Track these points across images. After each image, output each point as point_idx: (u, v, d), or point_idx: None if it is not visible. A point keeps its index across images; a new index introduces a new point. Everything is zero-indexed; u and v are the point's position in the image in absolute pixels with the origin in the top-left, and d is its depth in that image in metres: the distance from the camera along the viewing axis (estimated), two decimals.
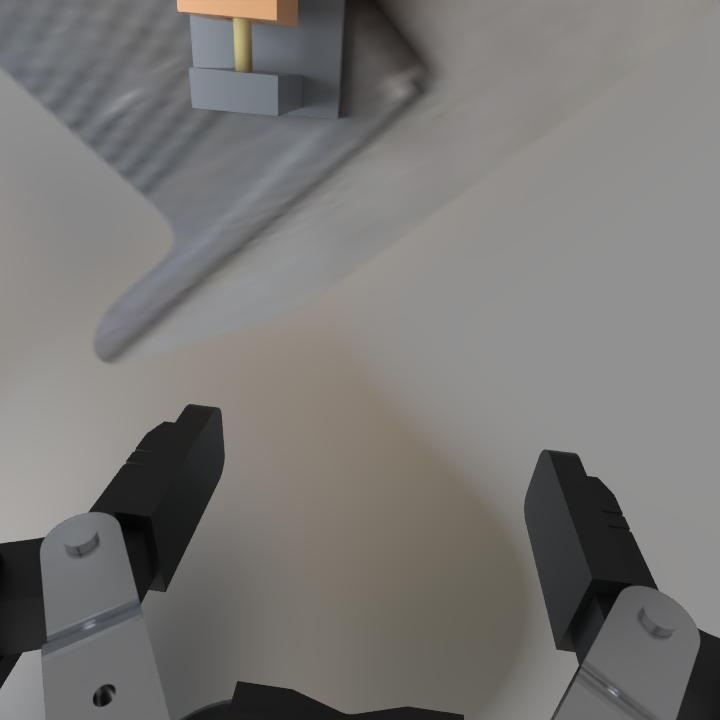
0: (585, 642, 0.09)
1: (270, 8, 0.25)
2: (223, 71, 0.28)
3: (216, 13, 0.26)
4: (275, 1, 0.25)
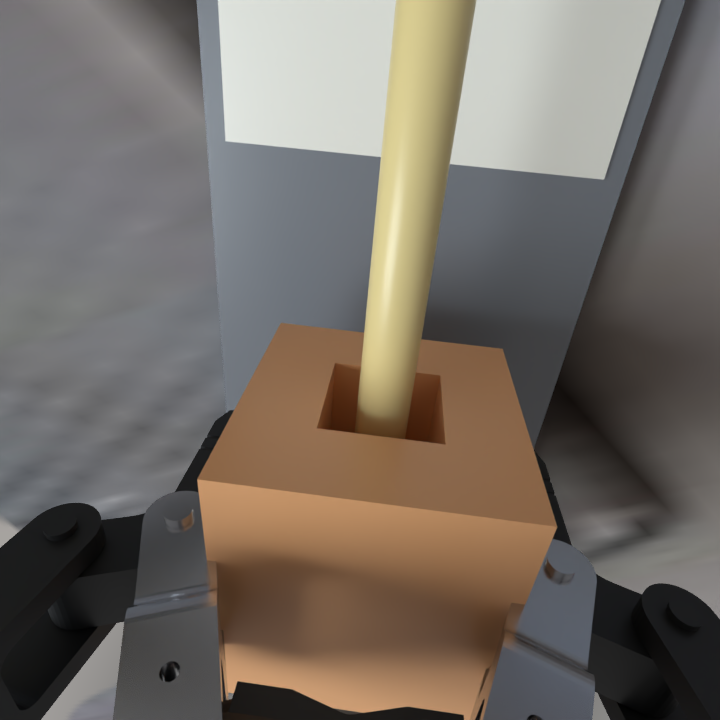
0: None
1: None
2: None
3: None
4: None
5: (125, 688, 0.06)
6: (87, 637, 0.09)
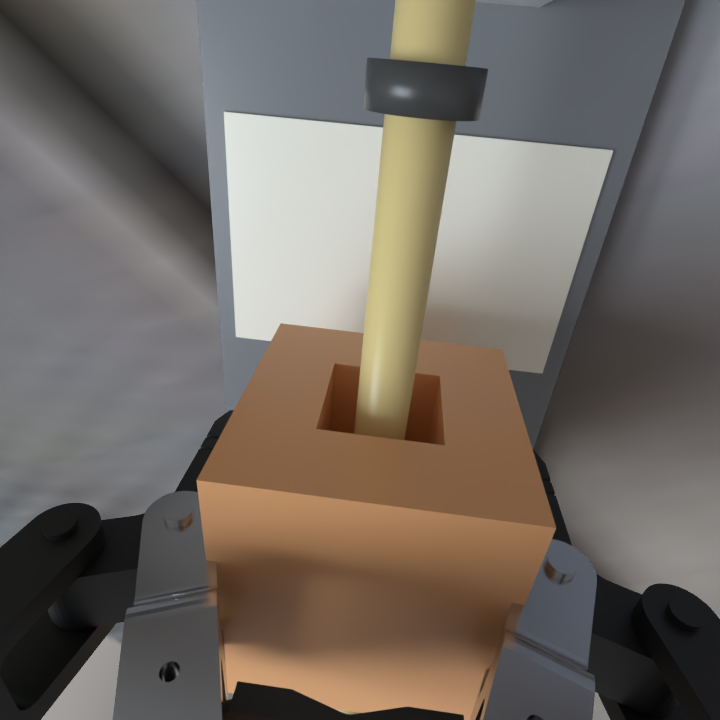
0: None
1: None
2: None
3: None
4: None
5: (125, 688, 0.06)
6: (87, 637, 0.09)
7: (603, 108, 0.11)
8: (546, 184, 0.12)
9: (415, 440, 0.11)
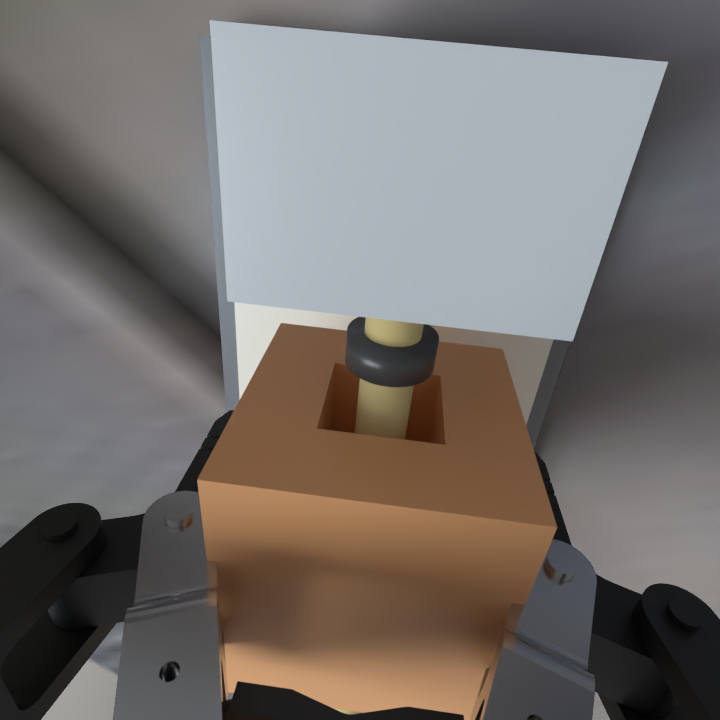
0: None
1: None
2: None
3: None
4: None
5: (125, 688, 0.06)
6: (87, 637, 0.09)
7: None
8: (506, 334, 0.14)
9: (416, 439, 0.11)
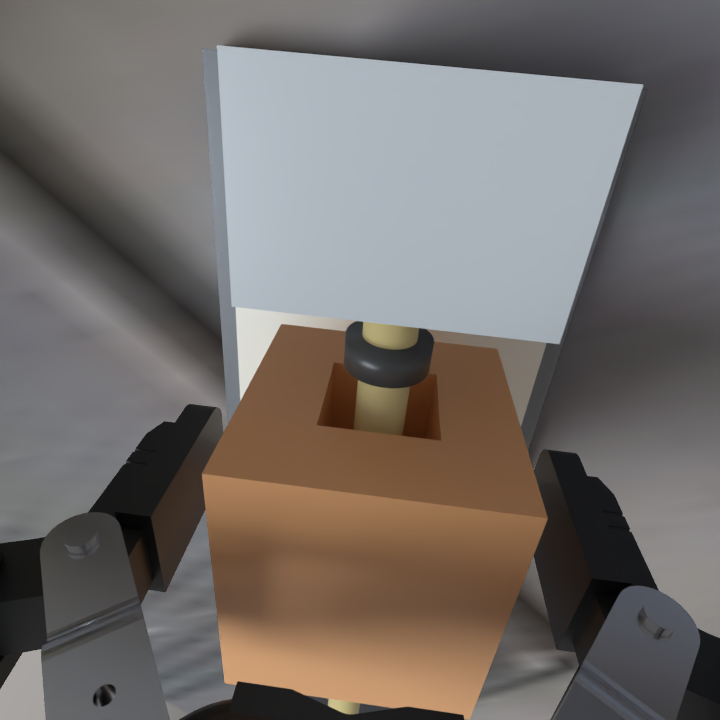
0: (585, 642, 0.09)
1: (458, 706, 0.10)
2: None
3: None
4: (474, 701, 0.10)
5: None
6: None
7: None
8: None
9: None
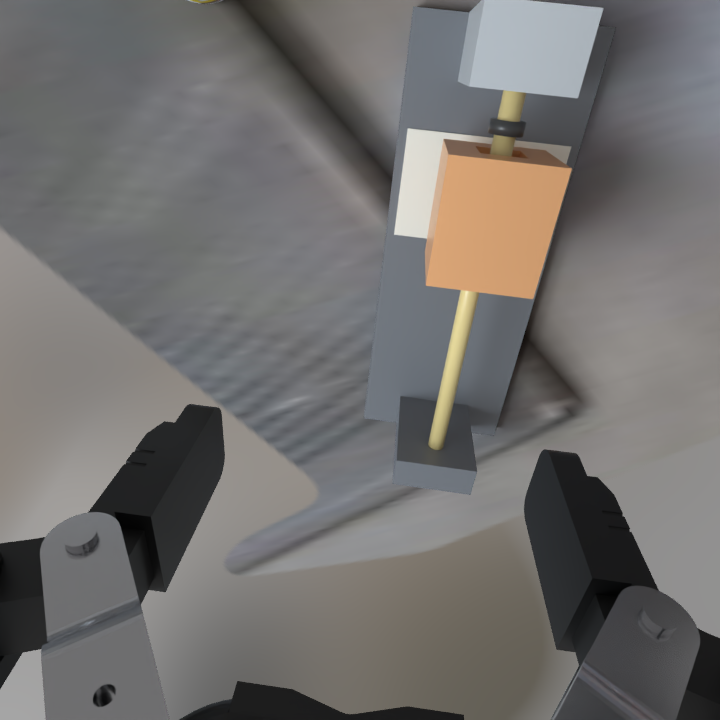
0: (585, 642, 0.09)
1: (529, 289, 0.24)
2: (427, 464, 0.31)
3: (468, 290, 0.24)
4: (536, 284, 0.24)
5: None
6: None
7: (566, 129, 0.27)
8: None
9: None
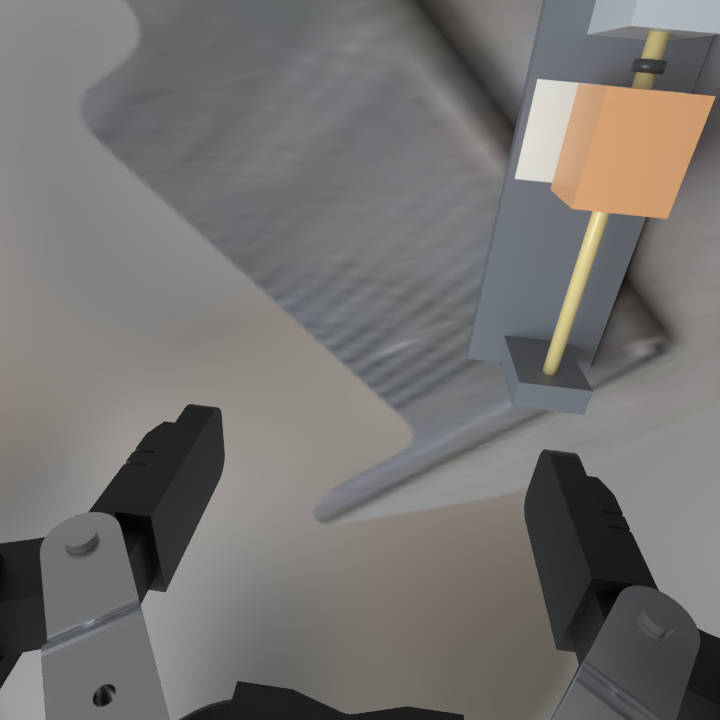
0: (585, 642, 0.09)
1: (664, 209, 0.27)
2: (547, 385, 0.34)
3: (609, 211, 0.27)
4: (672, 204, 0.27)
5: None
6: None
7: (681, 76, 0.30)
8: None
9: None
